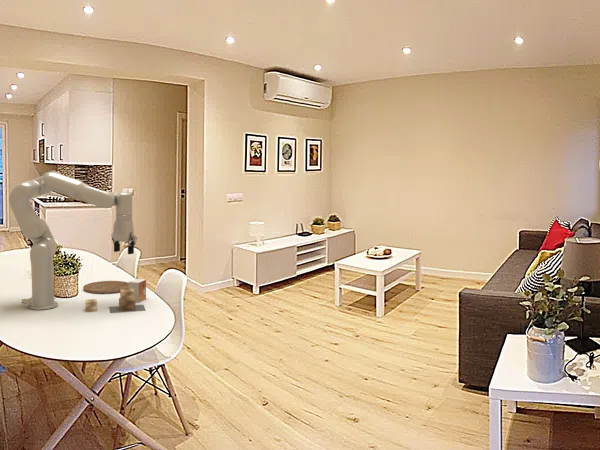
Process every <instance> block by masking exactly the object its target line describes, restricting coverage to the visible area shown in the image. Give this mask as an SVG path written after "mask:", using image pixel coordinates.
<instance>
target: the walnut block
mask: <svg viewBox="0 0 600 450" xmlns="http://www.w3.org/2000/svg"><path fill="white" fill-rule="evenodd" d="M136 305H137V302H136V301H135V298H134V301H122V302H121V299H120V297H119V298H118V306H119V309H120V311H131V310H136Z"/></svg>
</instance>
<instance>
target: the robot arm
mask: <svg viewBox="0 0 600 450" xmlns="http://www.w3.org/2000/svg"><path fill="white" fill-rule="evenodd" d="M50 192H56V193H58V194H62V195H64V196H68V197H71V198H73V199H76V200H78V201H82V202H84V203H87V204H90V205H93V206H96V207H99V208H102V209H110V208H111V207H115V220H114V223H113V227H112V228H113V230H112V233H110V236H111V240H112V244H113V252H114V253H117V252H120V251H121V243H120V242H122V243H127V244H128V245H127V254H128V255H133V254H134V253H135V246H136V243H137V240H138V237H137V236H136V235H135V229H134V222H133V193H131V192H124V191H122V192H121V191H119V192H115V191H107V190H106V191H104V190H101V189H98V188H94V187H92V186H90V185H88V184H86V183H85V182H83V181H81V180H80V179H75V178H72V177H70V176H66V175H64V174H62V173H61V172H59V171H54V170H53V171H47V172H45V173H44V174H43V175H41V176H38V177H36V178H32V179H30V180H26V181H21V182H19V183H18V184H16V185H15V186H14V187H13V188H12V190H11V191H10V194H9V196H8V201H9V206H10V209H11V211H12V213H13V215H14V217H15V220H16V223H17V225H18V227H19V229H20V232H21V233H22V236H23V237H24V238H26V239H28V240H30V241H31V242H32V246H31V247H30V251H29V260H30V269H31V272H30V273H31V274H30V275H31V297H29V298H22V299H21V304H24V305H27V304H28V309H30V310H34V311H35V310H36V311H38V310H39V311H44V310H50V309H54V308H56V307H58V306H59V303H58V301H55V267H54V255H55V254H56V252H57V251H58V250H57V249H58V248H57V247H58V245H57V242H56V241H55V238H54V236H53V233H52V232H51V230H50V227H49V225H48V223H47V222H46V221H45V220H44V219H42V218H40V217H38V216H37V214H36V211H35V209H34V207H33V206H32V203H31V200H32V199H36V198H38V197H41V196H42V195H45V194H46V195H47V194H48V193H50Z"/></svg>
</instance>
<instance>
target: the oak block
mask: <svg viewBox="0 0 600 450" xmlns="http://www.w3.org/2000/svg"><path fill="white" fill-rule="evenodd" d="M119 296H120V297H119V298H120V299H121V302H122V301H134V289H120V293H119Z"/></svg>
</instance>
